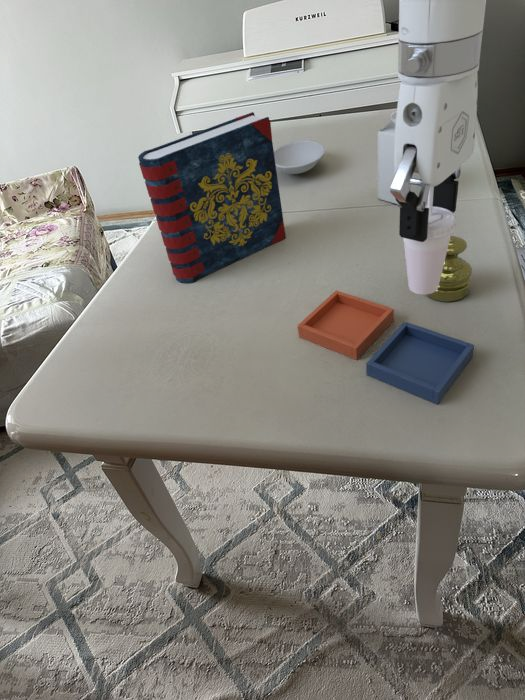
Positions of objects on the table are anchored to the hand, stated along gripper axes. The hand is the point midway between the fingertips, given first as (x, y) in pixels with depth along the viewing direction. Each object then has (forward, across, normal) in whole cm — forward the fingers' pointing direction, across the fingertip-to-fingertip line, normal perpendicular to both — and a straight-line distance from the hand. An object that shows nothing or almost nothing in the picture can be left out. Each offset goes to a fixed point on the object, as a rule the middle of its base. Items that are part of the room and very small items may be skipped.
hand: (427, 223), depth 61 cm
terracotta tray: (+23, +2, +14) cm, 27 cm away
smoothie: (+9, 0, 0) cm, 9 cm away
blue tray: (+23, 0, 0) cm, 23 cm away
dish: (+23, +50, +60) cm, 81 cm away
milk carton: (+23, +47, +29) cm, 60 cm away
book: (+23, +10, +48) cm, 54 cm away
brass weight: (+23, +19, +5) cm, 30 cm away
